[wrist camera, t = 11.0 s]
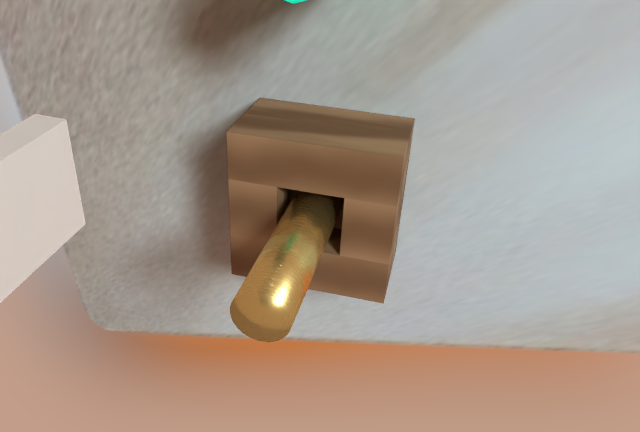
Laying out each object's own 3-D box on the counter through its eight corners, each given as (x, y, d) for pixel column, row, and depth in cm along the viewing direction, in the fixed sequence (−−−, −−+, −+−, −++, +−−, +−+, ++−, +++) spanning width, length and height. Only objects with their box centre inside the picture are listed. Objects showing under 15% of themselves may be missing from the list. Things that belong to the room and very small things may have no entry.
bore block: (259, 97, 45) (226, 131, 39) (414, 118, 42) (403, 158, 37) (260, 227, 51) (231, 273, 45) (395, 251, 49) (383, 303, 43)
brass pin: (298, 173, 43) (229, 285, 31) (345, 181, 42) (292, 298, 31) (296, 214, 45) (231, 334, 33) (341, 222, 44) (290, 347, 33)
